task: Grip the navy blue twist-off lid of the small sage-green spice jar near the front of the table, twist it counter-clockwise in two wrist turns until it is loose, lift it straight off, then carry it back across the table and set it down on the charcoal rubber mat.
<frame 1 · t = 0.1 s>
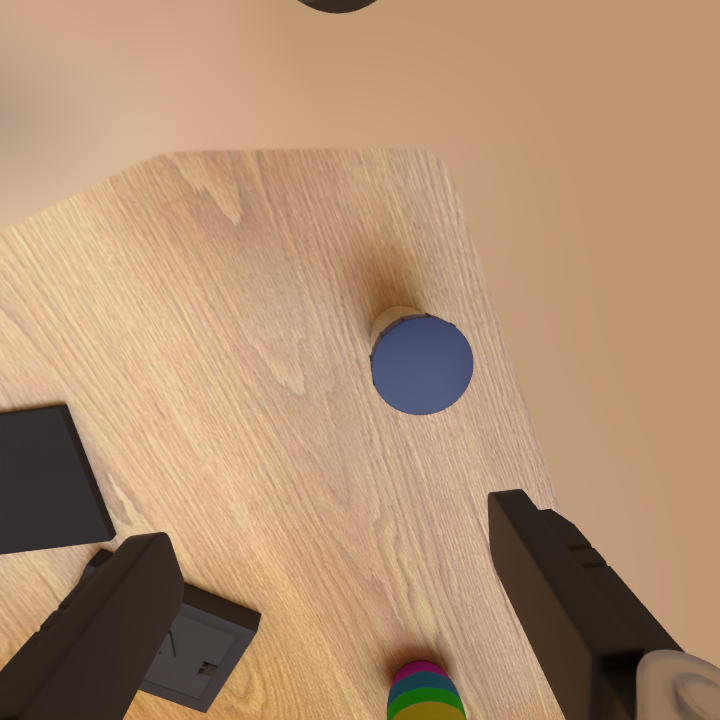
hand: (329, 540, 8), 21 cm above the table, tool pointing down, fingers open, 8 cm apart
lid: (421, 366, 20), point 9 cm above the table, screwed on, not yet turned
mat: (20, 482, 32), on the table
picture frame: (161, 623, 37), on the table
decorative egg: (419, 675, 39), on the table
spice jar: (400, 336, 29), on the table
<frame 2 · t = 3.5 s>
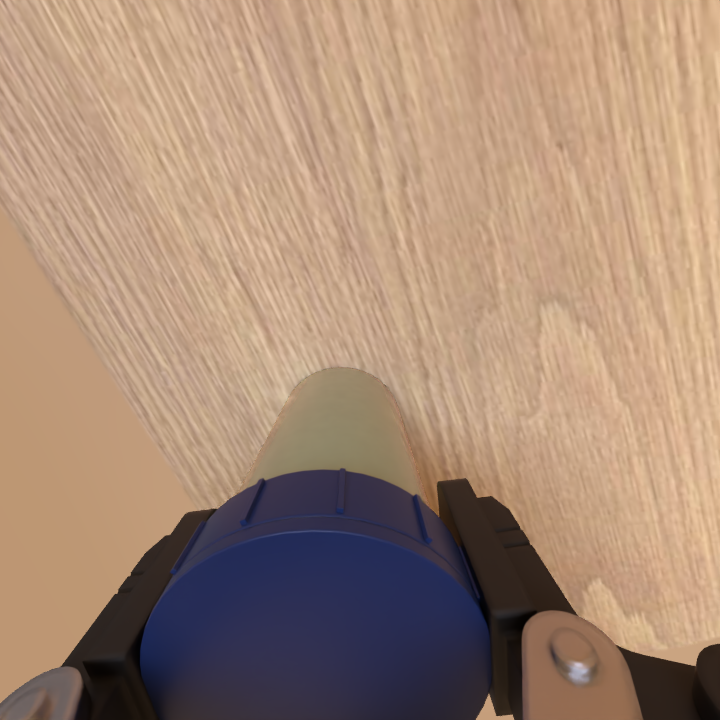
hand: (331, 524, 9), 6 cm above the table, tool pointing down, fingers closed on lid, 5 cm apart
lid: (320, 658, 6), point 9 cm above the table, screwed on, not yet turned, touching gripper
spice jar: (341, 422, 15), on the table
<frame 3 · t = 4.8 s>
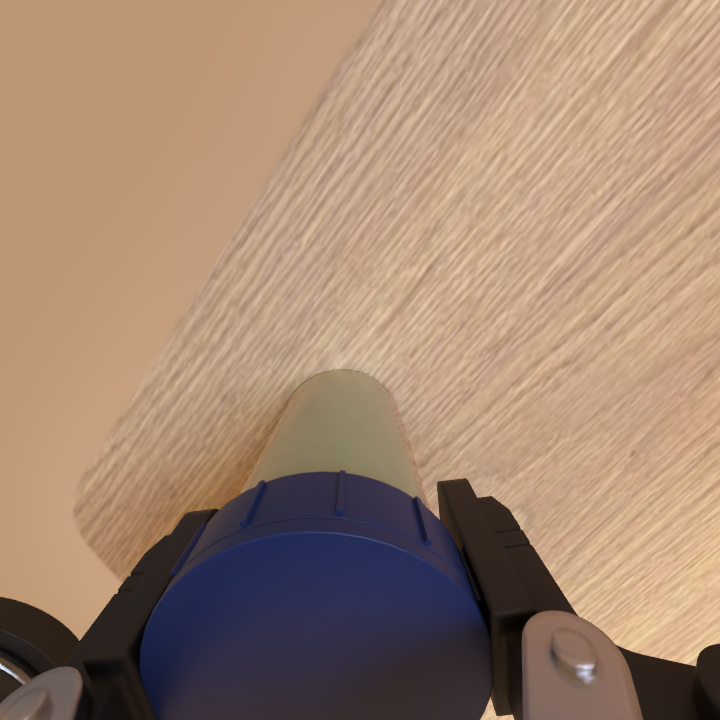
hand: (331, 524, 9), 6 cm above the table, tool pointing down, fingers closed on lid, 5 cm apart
lid: (320, 661, 6), point 10 cm above the table, turned 60° so far, risen 0.1 cm, still on its thread, touching gripper
spice jar: (342, 424, 15), on the table
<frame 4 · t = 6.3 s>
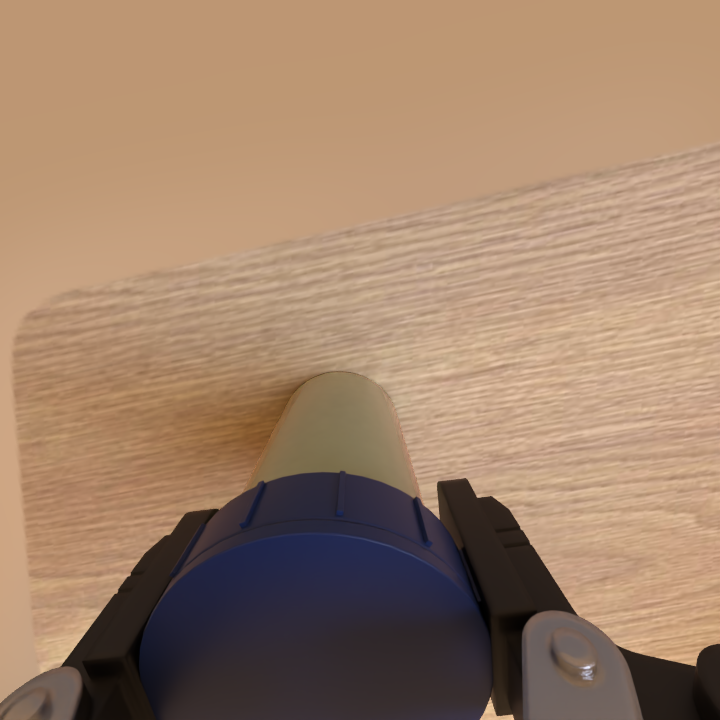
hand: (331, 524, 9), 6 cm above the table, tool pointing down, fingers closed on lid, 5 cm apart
lid: (320, 662, 6), point 10 cm above the table, off its thread, touching gripper
spice jar: (340, 426, 15), on the table
when the fingers open (6 cm above the table, at t = 8.5 s): lid stays where it is, resting on spice jar.
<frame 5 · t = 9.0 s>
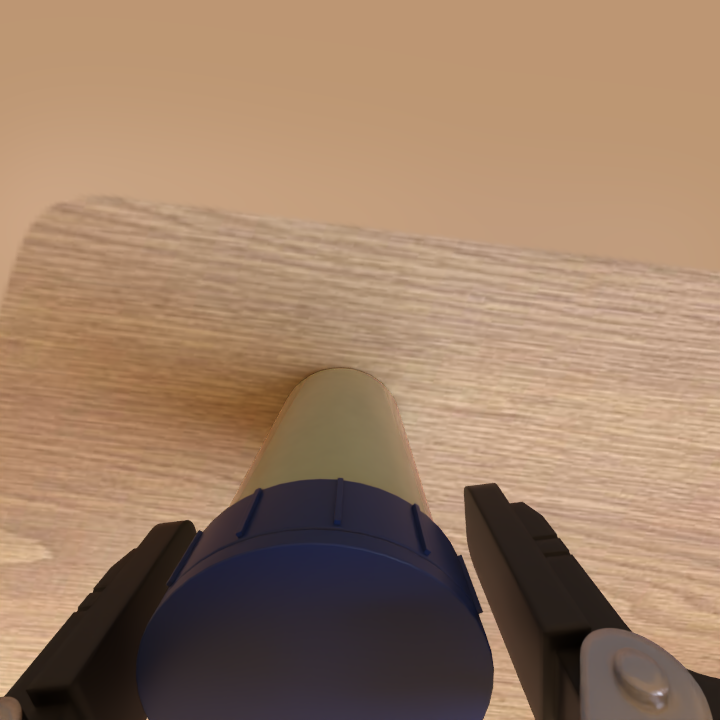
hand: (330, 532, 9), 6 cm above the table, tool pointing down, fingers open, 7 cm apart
lid: (318, 670, 6), point 9 cm above the table, off its thread, touching spice jar
spice jar: (341, 424, 15), on the table, touching lid
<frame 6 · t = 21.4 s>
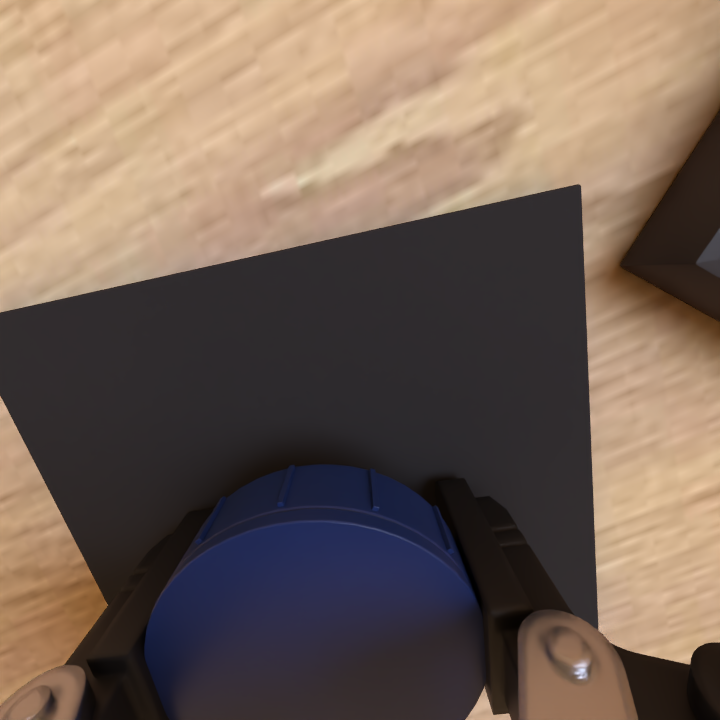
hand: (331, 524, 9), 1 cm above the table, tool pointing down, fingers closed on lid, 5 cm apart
lid: (321, 649, 6), point 4 cm above the table, off its thread, touching gripper
mat: (333, 500, 10), on the table
when the fingers open (1 cm above the table, at t = 23.6 s): lid drops 2 cm, resting on mat.
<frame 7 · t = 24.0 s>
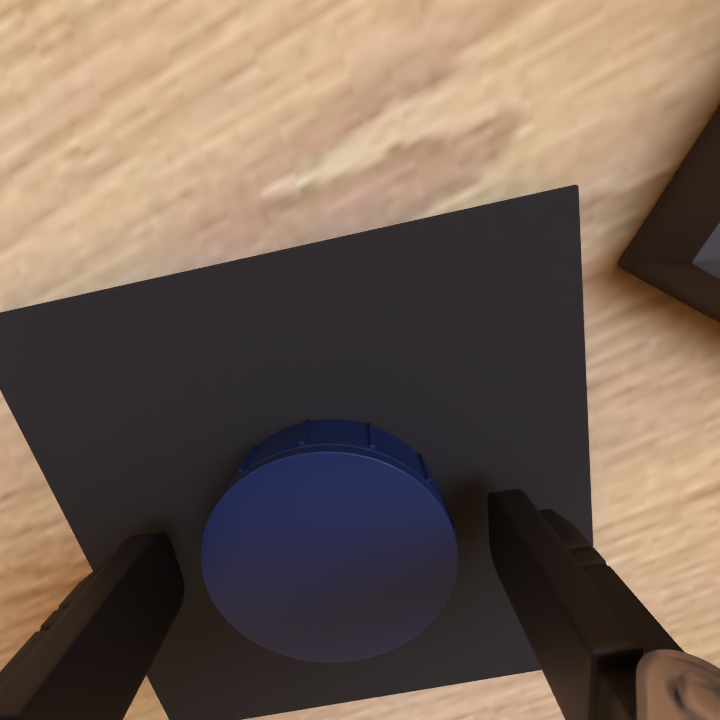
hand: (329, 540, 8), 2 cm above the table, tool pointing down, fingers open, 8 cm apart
lid: (331, 556, 8), point 2 cm above the table, off its thread, touching mat
mat: (333, 499, 10), on the table
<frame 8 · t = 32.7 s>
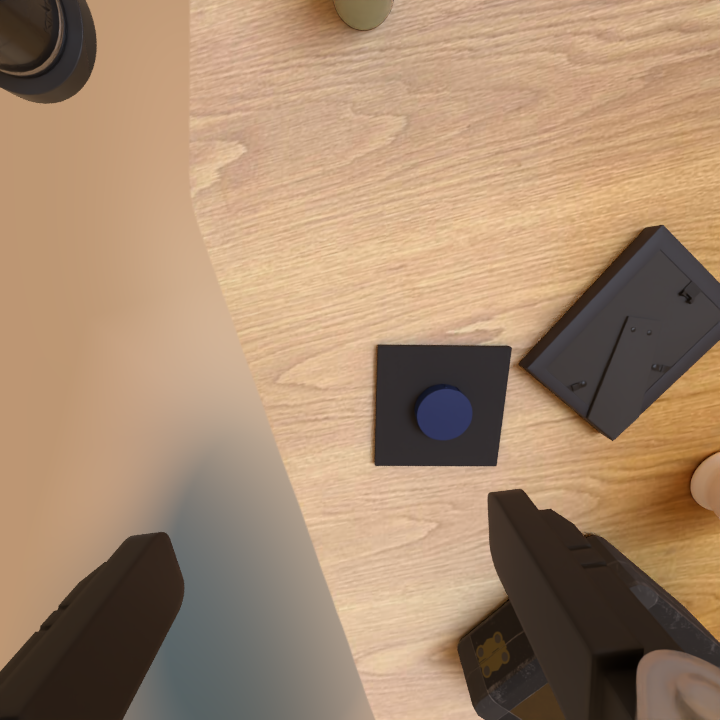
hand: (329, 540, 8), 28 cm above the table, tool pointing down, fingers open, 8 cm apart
lid: (444, 414, 36), point 2 cm above the table, off its thread, touching mat
mat: (438, 406, 38), on the table
cash box: (566, 624, 46), on the table
picture frame: (620, 337, 36), on the table
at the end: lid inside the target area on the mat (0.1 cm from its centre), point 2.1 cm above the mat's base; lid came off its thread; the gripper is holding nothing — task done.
